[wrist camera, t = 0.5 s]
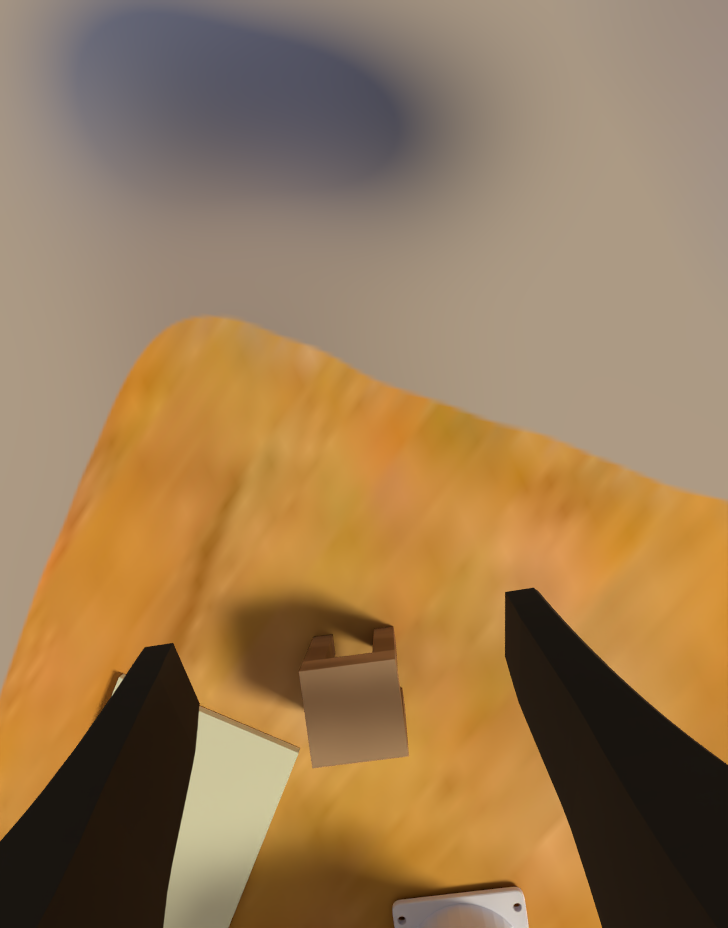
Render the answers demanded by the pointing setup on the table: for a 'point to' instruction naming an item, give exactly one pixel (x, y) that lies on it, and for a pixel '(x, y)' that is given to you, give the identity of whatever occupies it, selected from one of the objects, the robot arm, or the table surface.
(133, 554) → the table surface
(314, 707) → the stool
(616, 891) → the robot arm
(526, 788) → the table surface
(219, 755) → the mat
